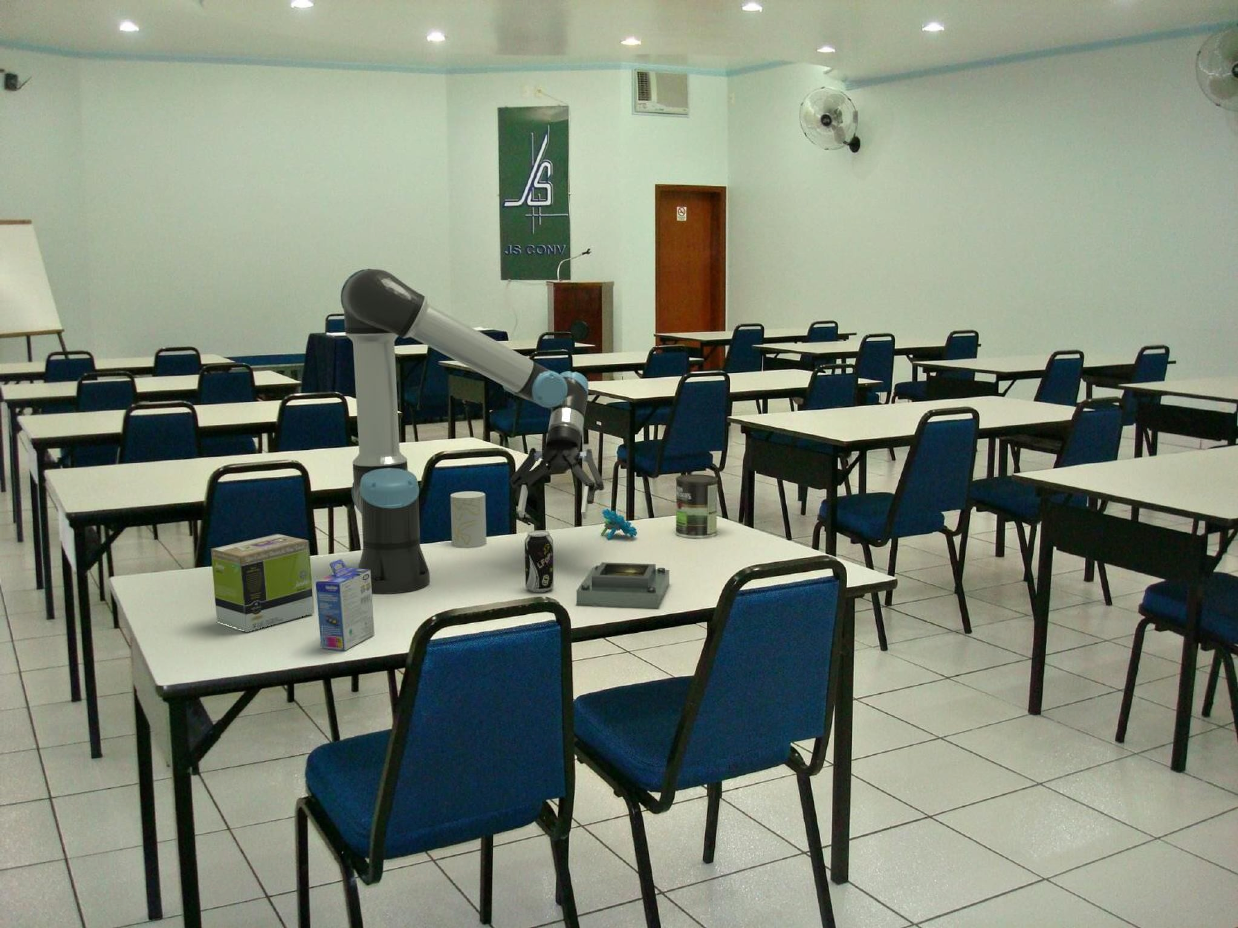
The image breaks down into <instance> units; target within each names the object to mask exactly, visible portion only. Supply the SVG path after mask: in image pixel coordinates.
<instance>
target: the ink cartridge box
mask: <svg viewBox="0 0 1238 928" xmlns="http://www.w3.org/2000/svg"><path fill="white" fill-rule="evenodd" d="M337 565H341V566H342V567H341V568H338V569H336V566H337ZM329 566H330V568H331V570H332V574H329V575H327V576H325V577H323V578H321V579H319V580H317V581H315V590H316V591H315V592H316V602H317V616H318V625H319V628H318V629H319V639H320V647H322V649H328V650H335V651H341V652H344V651H347V650H348V649H350V648H353V647H354V646H356V645H357V644H359V643H362V642H363V641H364V640H366V639H367V640H368V639H369V638H371V637H372V636H374V635H375V623H374V620H375V619H374V606H373V605H374V604H373V592H372V588H371V573H370V570H369V569H359V568H358V567H357V568H356V567H347V566H346V564H345V562H344V560H343V559H342V558H340V559H338V560H335V561H333V562H330V563H329Z"/></svg>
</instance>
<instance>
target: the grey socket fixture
mask: <svg viewBox="0 0 1238 928" xmlns="http://www.w3.org/2000/svg"><path fill="white" fill-rule="evenodd" d="M656 566H657V565H656V563H637V562H636V563H633V562H628V563H627V562H603V561H601V563H600V564H599V565H595V566H594V567H592V568H591V570H590V571H589V573H588V574H587V576H586V577H585V578H584V579H583V581H582V582H581V583H580V584H579V586H578V588H577V589H576V606H585V607H587V606H588V607H605V608H606V607H608V608H632V609H635V608H636V609H655V610H657V609H659V608H660V607H661V604H662V601H663V599H664V597H665V596H666V592H667V590H668V588H669V585H670V569H666V568H664V567H656ZM656 568H657V569H656Z"/></svg>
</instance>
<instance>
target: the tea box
mask: <svg viewBox="0 0 1238 928" xmlns="http://www.w3.org/2000/svg"><path fill="white" fill-rule="evenodd" d="M210 552H211V553H210V554H211V566H212V568H211V569H212V576H213V578H212V579H213V589H214V590H213V591H214V594H213V595H214V602H215V603H214V605H215V613H216V622H217V621H218V622H220V623H223V624H227V625H229V626H232V627H236V628H237V629H241V630H244V631H245V632H244V633H246V632H247V633H249V632H248V631H250V632H252V631H251V630H254V629H258V630H260V628H261V629H263V628H262V627H264V628H268V627H271V625H272V626H274V624H275V625H278V624H281V623H285V622H288V621H292V620H296V619H299V618H302V616H303V617H306V615H307V616H310V615H313V614H315V606H314V595H313V579H312V578H313V576H312V567H311V552H310V541H309V540H307V539H303V538H297V537H294V536H293V537H292V536H289V535H284V534H280V533H276V534H271V535H267V536H263V537H258V538H254V539H250V540H244V541H241V542H235V543H231V544H228V545H223V546H219V547H214V548H210ZM218 622H217V623H218ZM267 626H268V627H267ZM254 631H255V630H254Z"/></svg>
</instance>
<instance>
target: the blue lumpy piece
mask: <svg viewBox="0 0 1238 928" xmlns="http://www.w3.org/2000/svg"><path fill="white" fill-rule="evenodd" d="M601 513H602V517H603V518H604V519H605V520H604V521H603V523H604V528H603V529H602V530H601V532H600V534H601V535H603V536H604V535H605V534H606V532H607V531H608V530H609V531H610V532H609V533H608V534H607V536H606V537H605V538H606V539H607V540H609V541H611V539H612V538H613V536H614V534H615V533H616V532H617V531H621V532H622V533H623V534H624V535H629V536H630V537H632V536H633V537H636V536H637V535H638V532H637V528H636V527H635V526H632V523H631V522H630V521H629V520H626V521H625V517H624V516H623V515H621V514H619V515H618V514H617V512H616V511H615V510H610V509H609V508H606V509H603V510H602V511H601ZM601 535H600V536H601Z"/></svg>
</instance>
